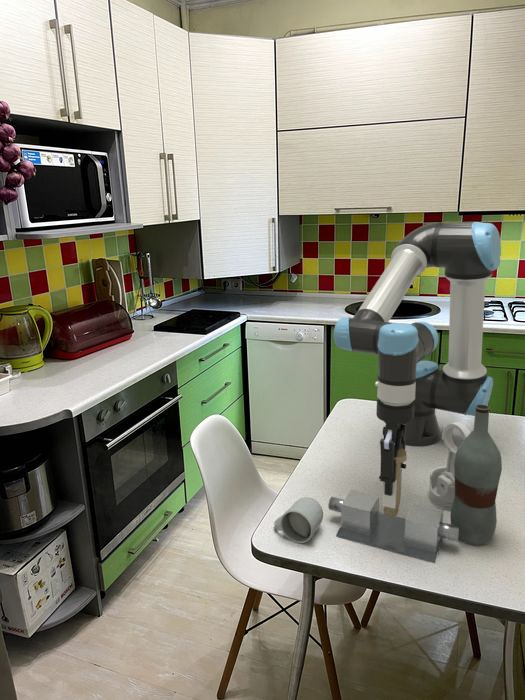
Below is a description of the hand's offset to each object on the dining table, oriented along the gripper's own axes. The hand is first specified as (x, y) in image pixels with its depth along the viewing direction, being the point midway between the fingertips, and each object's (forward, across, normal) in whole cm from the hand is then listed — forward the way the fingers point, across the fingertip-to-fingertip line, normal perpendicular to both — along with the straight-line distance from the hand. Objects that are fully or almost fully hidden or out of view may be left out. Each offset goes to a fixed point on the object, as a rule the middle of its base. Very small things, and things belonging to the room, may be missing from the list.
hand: (391, 500), depth 115 cm
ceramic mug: (+9, +8, -19) cm, 22 cm away
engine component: (+8, -19, +10) cm, 23 cm away
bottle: (+8, -7, +16) cm, 19 cm away
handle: (+3, 0, 0) cm, 3 cm away
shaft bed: (+8, 0, 0) cm, 8 cm away
